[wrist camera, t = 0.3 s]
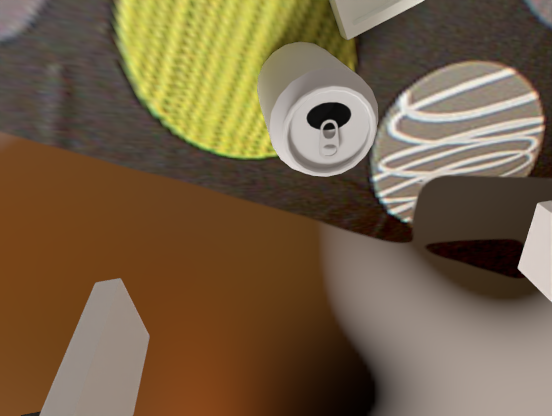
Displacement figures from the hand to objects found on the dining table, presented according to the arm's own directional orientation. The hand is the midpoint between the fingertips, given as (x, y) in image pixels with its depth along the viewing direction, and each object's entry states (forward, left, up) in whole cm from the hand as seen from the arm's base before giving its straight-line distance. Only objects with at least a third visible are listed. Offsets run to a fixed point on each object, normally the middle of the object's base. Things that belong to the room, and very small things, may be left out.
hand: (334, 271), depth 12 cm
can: (+2, +3, -25) cm, 25 cm away
